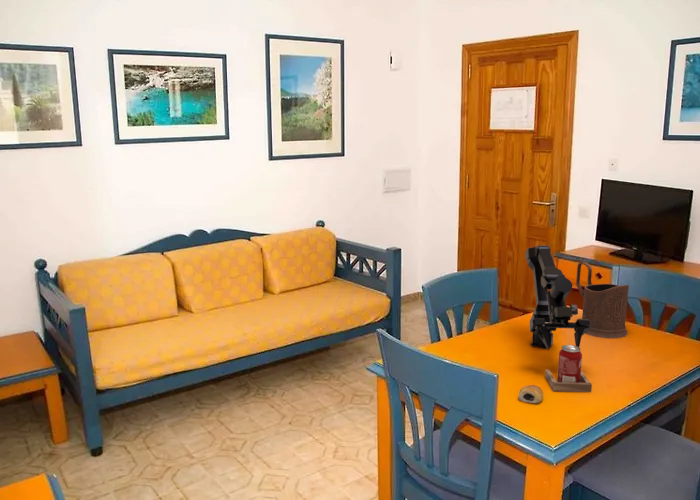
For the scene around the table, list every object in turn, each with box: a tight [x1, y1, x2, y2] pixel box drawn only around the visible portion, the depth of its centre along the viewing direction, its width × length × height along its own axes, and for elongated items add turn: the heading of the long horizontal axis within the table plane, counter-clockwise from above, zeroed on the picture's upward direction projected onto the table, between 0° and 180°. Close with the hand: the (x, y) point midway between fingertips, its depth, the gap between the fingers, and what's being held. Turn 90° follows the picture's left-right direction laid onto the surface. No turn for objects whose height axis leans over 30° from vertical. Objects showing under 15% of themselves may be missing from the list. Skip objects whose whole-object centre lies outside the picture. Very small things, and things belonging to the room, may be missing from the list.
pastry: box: [517, 384, 544, 404], centre depth 184 cm, size 9×7×4 cm
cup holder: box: [575, 261, 630, 340], centre depth 242 cm, size 18×24×25 cm
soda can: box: [556, 344, 583, 383], centre depth 192 cm, size 7×7×12 cm
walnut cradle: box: [544, 369, 593, 393], centre depth 193 cm, size 11×11×2 cm
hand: (563, 349), depth 198 cm, fingers open, 9 cm apart
